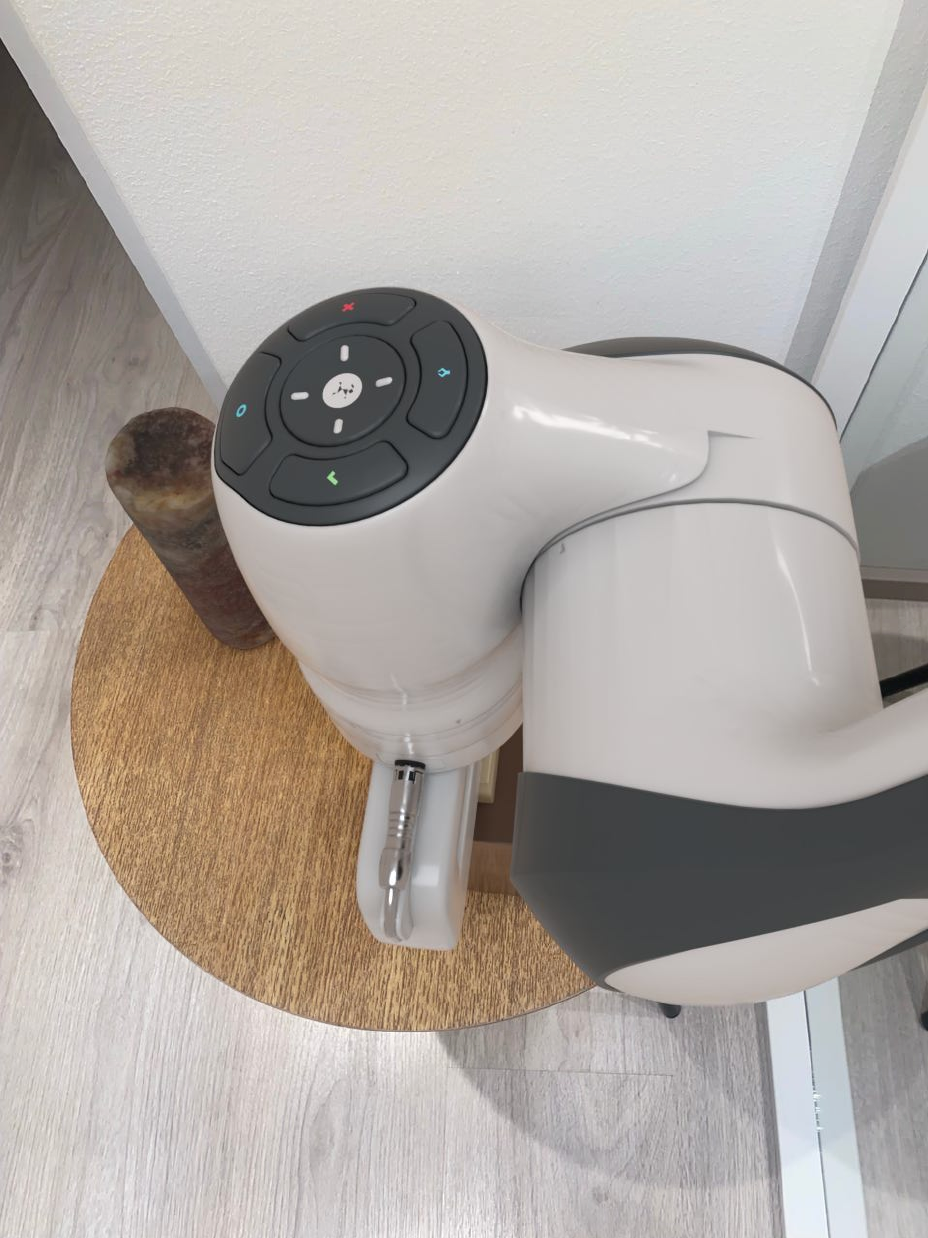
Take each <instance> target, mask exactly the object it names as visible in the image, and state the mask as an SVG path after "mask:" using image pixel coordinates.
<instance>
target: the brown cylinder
mask: <svg viewBox="0 0 928 1238" xmlns="http://www.w3.org/2000/svg"><path fill="white" fill-rule="evenodd" d="M215 427H216V423H214V422H213V421H212V420H210V419H209V418H207V417H206V416H203V415H201V414H200V413H198V412H196V411H194V410H191V409H189V408H184V407H180V406H169V407H164V408H156V409H152V410H149V411H145V412H142V413H140V414H137V415H136V416H133V417H130V419H129V420H128V422H127V423H126V424H124V426H122V427H121V429H119V430H118V432H117V433H116V434H115V436H114V437H113V438H112V440H111V441H110V442H109V446H108V447H107V450H106V451H107V452H106V454H105V460H104V469H105V470H104V472H105V476H106V481H107V484H108V487H109V489H110V490H111V492H112V494H113V495H114V497H115V498H116V500H117V501H118V502H119V503H120V505H121V507H122V509H123V510H124V512H125V513H126V515H127V516H128V518H129V519H130V520H131V522H132V523H133V524H134V526H135V527H136V528H137V530H138V532H139V533H140V534H141V535H142V537H143V538H144V540H145V541H146V543H147V544H148V546H149V547H150V548H151V550H152V551H153V553H154V554H155V556H156V557H157V558H158V560H159V561H160V563H161V564H162V565H163V567H164V568H165V569H166V571H167V572H168V574H169V575H170V577H171V578H172V580H173V581H174V582H175V584H176V585H177V587H178V589H179V590H180V591H181V593H182V594H183V596H184V597H185V599H186V601H187V602H188V603H189V604H190V606H191V607H192V609H193V610H194V612H195V614H196V615H197V616H198V618H199V619H200V621H201V622H202V624H203V625H204V626H205V627H206V629H207V630H208V631H209V633H210V634H211V636H213V637H214V638H215V639H216V640H217V641H218V642H220V643H222V644H223V645H225V646H227V647H230V648H232V649H242V650H249V649H253V648H254V647H259V646H262V645H264V644H266V643H268V641H270V640H271V639H272V638H274V637H276V636H277V635H276V633H275V632H274V630H273V629H272V627H271V626H270V624H269V623H268V621H267V620H266V618H265V616H264V615H263V613H262V611H261V610H260V608H259V606H258V605H257V603H256V601H255V599H254V597H253V595H252V594H251V592H250V590H249V588H248V586H247V584H246V582H245V580H244V578H243V576H242V574H241V572H240V569H239V567H238V565H237V563H236V561H235V558H234V556H233V553H232V550H231V548H230V545H229V542H228V539H227V537H226V534H225V531H224V529H223V526H222V522H221V519H220V516H219V512H218V508H217V504H216V500H215V496H214V490H213V485H212V476H211V450H212V442H213V436H214V431H215Z"/></svg>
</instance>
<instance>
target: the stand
mask: <svg viewBox="0 0 928 1238" xmlns="http://www.w3.org/2000/svg"><path fill="white" fill-rule="evenodd" d="M520 772H523V722H522V724H521V725H520V727H519V728H518V729H517V730H516V732H515V733H514V734H513V735H512V736H511V737H510V738H509V739H508V740H507V741H506V742H505V743H504V744H503V745H502V746H500V749H499V758H498V767H497V776H496V785H495V793H494V802H493V803H482V802H477V810H476V818H475V826H474V835H473V843H472V851H471V860H470V868H469V876H468V884H467V891H470V892H480V893H489V894H497V895H505V896H512V897H513V896H515V897H521V896H520V894H519V893H518V891H517V890H516V888H515V887H514V885H513V884H512V882H511V881H510V870H511V858H512V846H513V833H514V821H515V808H516V796H517V784H518V773H520Z"/></svg>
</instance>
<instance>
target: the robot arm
mask: <svg viewBox="0 0 928 1238" xmlns="http://www.w3.org/2000/svg"><path fill="white" fill-rule="evenodd" d="M215 425H216V427H215V431H214V436H213V442H212V450H211V476H212V485H213V490H214V496H215V500H216V504H217V508H218V512H219V516H220V519H221V522H222V526H223V529H224V531H225V534H226V537H227V539H228V542H229V545H230V548H231V550H232V553H233V556H234V558H235V561H236V563H237V565H238V567H239V569H240V572H241V574H242V576H243V578H244V580H245V582H246V584H247V586H248V588H249V590H250V592H251V594H252V595H253V597H254V599H255V601H256V603H257V605H258V606H259V608H260V610H261V611H262V613H263V615H264V616H265V618H266V620H267V621H268V623H269V624H270V626H271V627H272V629H273V630H274V632H275V633H276V636H277V637H278V639H279V641H280V642H281V643H282V644H283V646H284V647H285V648H286V649H287V650H288V651H289V653H291V655H292V656H293V657H295V660H296V662H297V664H298V666H299V669H300V673H301V674H302V676H303V677H304V679H305V681H306V683H307V684H308V686H309V687H310V689H311V690H312V692H313V694H314V696H315V697H316V699H317V700H318V701H319V703H320V705H321V706H322V708H323V709H324V710H325V712H326V714H327V715H328V717H329V719H330V720H331V722H332V723H333V725H334V727H336V729H337V731H338V733H340V735H341V736H342V737H343V738H344V739H345V741H346V742H347V743H349V745H350V746H352V747H353V748H354V749H355V750H357V752H359V753H360V754H362V755H363V756H365V757H367V758H368V759H369V760H371V761H373V762H372V763H373V764H372V770H371V775H370V782H369V788H368V794H367V799H366V805H365V811H364V818H363V824H362V829H361V834H360V835H361V836H360V842H359V847H358V853H357V854H358V855H357V864H356V873H355V874H356V877H355V895H356V901H357V902H356V903H357V906H358V910H359V912H360V915H361V917H362V919H363V922H364V923H365V925H366V927H367V929H368V931H369V933H370V934H371V935H372V936H373V938H374V939H375V940H376V941H378V942H379V943H382V944H385V945H390V946H397V947H402V948H403V947H404V948H410V949H416V950H417V949H418V950H427V951H436V952H437V951H438V952H439V951H440V952H450V951H452V950H454V949H456V948H457V946H458V943H459V940H460V937H461V934H462V929H463V924H464V917H465V916H464V915H465V908H466V899H467V892H468V890H467V884H468V876H469V868H470V860H471V851H472V843H473V835H474V826H475V818H476V810H477V801H478V793H479V785H480V776H481V768H482V760H483V758H484V757H486V756H487V755H489V754H491V753H492V752H494V751H495V750H496V749H498V748H499V747H500V746H502V745H503V744H504V743H505V742H506V741H507V740H508V739H509V738H510V737H511V736H512V735H513V734H514V733H515V732H516V730H517V729H518V728H519V727H520V725H521V724H522V722H523V772H520V773H518V784H517V796H516V808H515V821H514V833H513V846H512V858H511V870H510V881H511V882H512V884H513V885H514V887H515V888H516V890H517V891H518V893H519V894H520V896H519V897H521V899H522V901H523V902H524V904H525V905H526V907H527V908H528V910H529V911H530V912H531V914H532V915H533V916H534V917H535V919H536V920H537V922H538V923H539V924H540V926H541V927H542V928H543V929H544V930H545V932H546V933H547V935H548V936H549V937H550V938H551V939H552V941H554V943H555V944H556V945H557V946H558V947H559V949H560V950H562V952H563V953H564V954H565V955H566V956H567V958H569V959H570V961H571V962H572V963H573V964H574V965H575V966H576V967H577V968H578V969H579V970H580V971H581V972H582V973H583V974H584V975H585V976H587V977H588V978H589V979H590V980H591V981H592V982H593V984H595V985H596V986H597V987H598V988H601V989H603V990H607V991H609V992H610V991H611V992H615V993H618V994H626V995H629V996H633V997H635V998H636V997H637V998H640V999H643V1000H648V1001H653V1002H657V1003H662V1004H666V1005H667V1004H668V1005H676V1006H688V1007H705V1008H706V1007H707V1008H708V1007H710V1008H711V1007H734V1006H744V1005H752V1004H760V1003H764V1002H769V1001H774V1000H777V999H782V998H786V997H789V996H790V997H791V996H793V995H796V994H798V993H799V994H800V993H802V992H806V991H807V990H810V989H813V988H816V987H818V986H820V985H822V984H824V983H826V982H829V981H832V980H833V979H836V978H838V977H840V976H842V975H844V974H846V973H849V972H853V971H856V970H859V969H862V968H865V967H868V966H870V965H873V964H876V963H878V962H881V961H883V960H887V959H888V958H889V959H890V958H892V957H893V956H896V955H898V954H901V953H903V952H906V951H908V950H911V949H914V948H916V947H918V946H921V945H923V944H926V943H928V686H927V687H925V688H924V689H921V690H919V691H918V692H915V693H913V694H911V695H909V696H906V697H905V698H903V699H900V700H899V701H897V702H895V703H893V704H891V705H888V706H886V707H884V702H883V696H882V690H881V684H880V679H879V674H878V667H877V662H876V657H875V650H874V645H873V638H872V633H871V627H870V622H869V616H868V610H867V605H866V604H867V603H866V599H865V598H866V597H865V592H864V586H863V581H862V576H861V575H862V574H861V569H860V567H861V561H862V558H861V551H860V546H859V540H858V534H857V529H856V523H855V517H854V512H853V506H852V501H851V494H850V489H849V483H848V478H847V473H846V467H845V462H844V457H843V452H842V448H841V444H840V439H839V434H838V424H837V419H836V416H835V413H834V411H833V409H832V407H831V405H830V404H829V402H828V400H827V399H826V397H824V395H823V394H822V393H821V392H820V391H819V390H818V389H817V388H816V387H815V386H814V385H813V384H811V383H810V382H809V381H807V380H806V379H805V378H804V377H802V376H801V375H799V374H798V373H796V372H795V371H793V370H792V369H790V368H788V367H787V366H785V365H784V364H781V363H779V362H777V361H776V360H775V359H772V358H770V357H767V356H765V355H762V354H760V353H758V352H755V351H753V350H750V349H746V348H744V347H743V348H742V347H740V346H736V345H732V344H727V343H723V342H717V341H712V340H707V339H698V338H690V337H679V336H678V337H677V336H629V337H627V336H626V337H619V338H618V337H617V338H616V337H615V338H610V339H602V340H597V341H592V342H587V343H581V344H577V345H573V346H570V347H566V348H565V347H564V348H562V349H557V348H554V347H553V348H551V347H548V346H543V345H540V344H536V343H533V342H530V341H528V340H525V339H522V338H520V337H518V336H515V335H514V334H512V333H510V332H507V331H506V330H505V329H503V328H502V327H500V326H498V325H496V324H495V323H493V322H492V321H491V320H489V319H488V318H486V317H485V316H483V315H482V314H480V313H479V312H478V311H476V310H475V309H473V308H471V307H470V306H468V305H467V304H465V303H463V302H461V301H458V300H457V299H455V298H453V297H450V296H448V295H445V294H442V293H440V292H437V291H433V290H431V289H425V288H419V287H413V286H402V285H401V286H400V285H383V286H374V287H373V286H372V287H365V288H357V289H351V290H348V291H344V292H341V293H339V294H335V295H333V296H330V297H328V298H327V297H326V298H325V299H322V300H320V301H318V302H315V303H314V304H312V305H310V306H308V307H306V308H304V309H303V310H301V311H300V312H298V313H296V314H295V315H293V316H292V317H291V318H289V319H287V320H286V321H285V322H283V323H282V324H281V325H280V326H278V327H277V328H276V329H275V330H273V331H272V332H271V333H270V334H269V335H268V336H267V337H266V338H265V339H264V340H263V341H262V342H261V343H260V344H259V345H258V346H257V347H256V348H255V350H254V351H253V352H252V353H251V354H250V356H249V357H248V358H247V359H246V361H245V362H244V363H243V364H242V366H241V367H240V369H239V370H238V372H237V374H236V375H235V377H234V379H233V380H232V382H231V383H230V386H229V387H228V389H227V391H226V393H225V396H224V399H223V401H222V404H221V407H220V410H219V413H218V417H217V420H216V423H215Z"/></svg>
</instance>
